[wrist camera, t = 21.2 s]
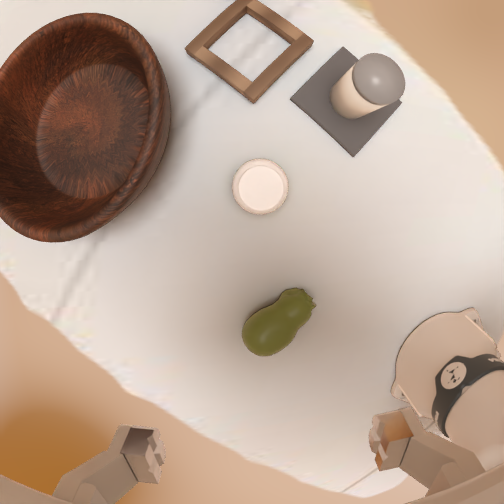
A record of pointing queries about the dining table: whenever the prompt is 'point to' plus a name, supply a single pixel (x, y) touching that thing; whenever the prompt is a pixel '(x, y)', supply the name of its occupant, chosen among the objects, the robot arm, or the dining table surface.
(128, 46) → the wooden bowl
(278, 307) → the pear
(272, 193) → the supplement bottle
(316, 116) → the pad
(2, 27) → the dining table surface
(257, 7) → the square wooden frame
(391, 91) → the cylinder
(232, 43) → the dining table surface
